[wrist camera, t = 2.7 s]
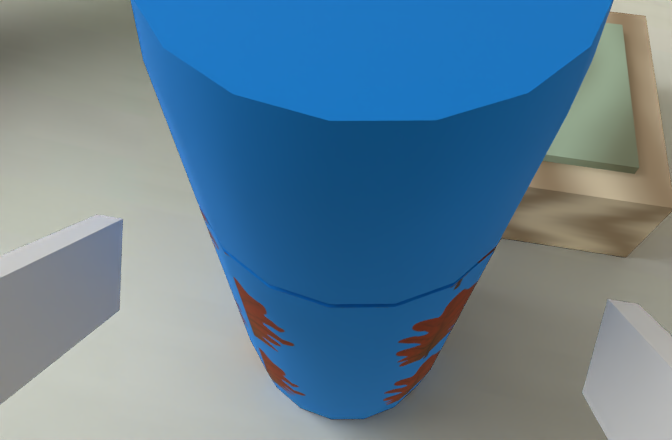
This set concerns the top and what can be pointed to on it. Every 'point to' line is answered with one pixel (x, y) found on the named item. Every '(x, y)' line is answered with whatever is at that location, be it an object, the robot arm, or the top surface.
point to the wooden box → (603, 155)
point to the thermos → (361, 165)
